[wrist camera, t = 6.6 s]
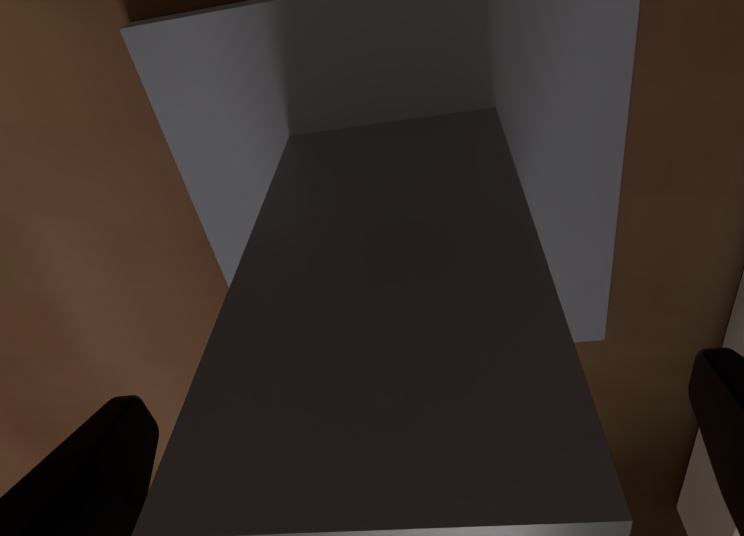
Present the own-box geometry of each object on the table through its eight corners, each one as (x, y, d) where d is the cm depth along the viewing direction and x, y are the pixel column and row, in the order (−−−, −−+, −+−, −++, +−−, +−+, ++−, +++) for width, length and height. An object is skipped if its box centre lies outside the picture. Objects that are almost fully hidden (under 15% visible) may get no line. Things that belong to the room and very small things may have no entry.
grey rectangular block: (501, 274, 14) (593, 699, 7) (331, 290, 15) (264, 697, 8) (495, 106, 12) (633, 520, 5) (289, 135, 12) (129, 539, 5)
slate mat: (599, 327, 16) (604, 340, 16) (266, 357, 17) (263, 369, 17) (638, -72, 10) (647, -68, 10) (129, 22, 12) (119, 28, 11)
